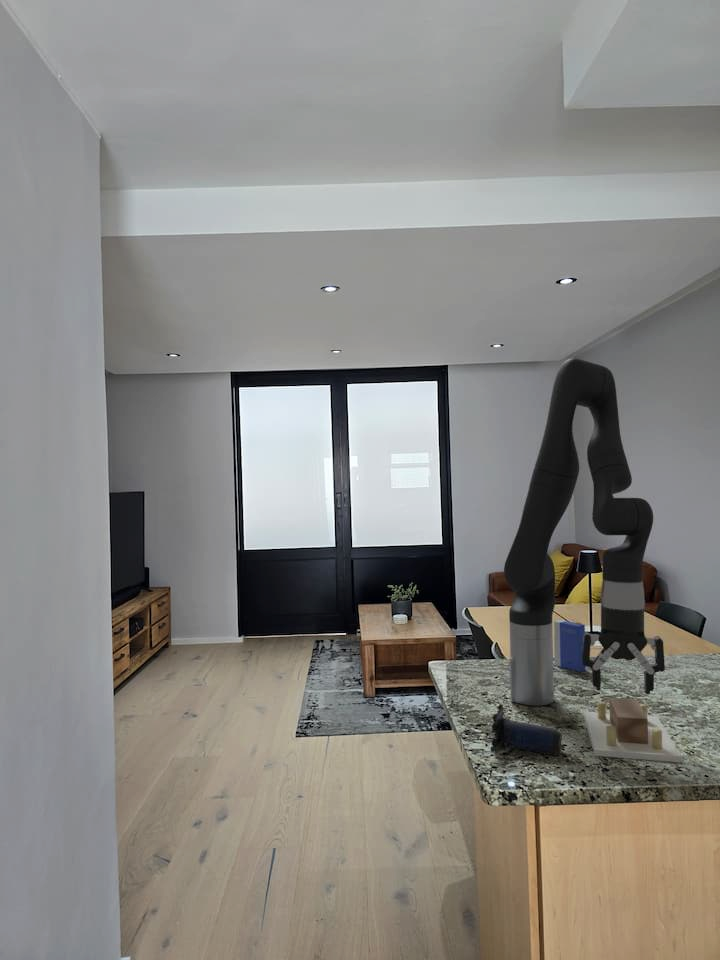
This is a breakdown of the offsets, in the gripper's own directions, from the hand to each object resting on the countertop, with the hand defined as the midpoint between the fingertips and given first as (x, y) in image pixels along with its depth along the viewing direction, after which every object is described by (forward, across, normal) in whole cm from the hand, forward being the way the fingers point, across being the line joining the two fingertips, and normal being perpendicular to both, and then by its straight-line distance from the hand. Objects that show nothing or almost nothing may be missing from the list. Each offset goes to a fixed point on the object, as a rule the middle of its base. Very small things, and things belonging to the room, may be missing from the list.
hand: (622, 691), depth 122 cm
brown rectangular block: (+8, -1, 0) cm, 8 cm away
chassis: (+9, -1, 0) cm, 9 cm away
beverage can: (+10, +17, +10) cm, 22 cm away
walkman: (+9, +8, -47) cm, 49 cm away
